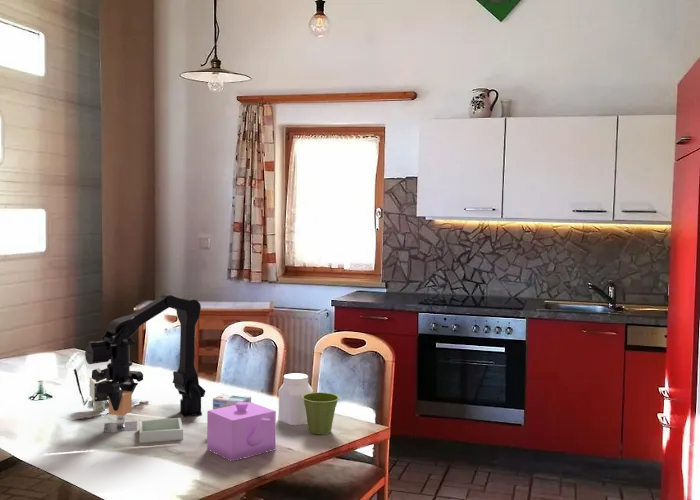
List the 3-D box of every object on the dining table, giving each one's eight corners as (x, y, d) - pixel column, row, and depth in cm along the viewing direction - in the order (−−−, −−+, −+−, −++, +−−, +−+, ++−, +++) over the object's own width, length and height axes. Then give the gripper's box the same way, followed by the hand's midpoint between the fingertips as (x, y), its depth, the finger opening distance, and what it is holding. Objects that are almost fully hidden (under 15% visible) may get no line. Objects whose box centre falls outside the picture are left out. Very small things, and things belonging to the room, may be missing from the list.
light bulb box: (251, 429, 229) (252, 396, 229) (241, 435, 223) (242, 401, 222) (222, 425, 233) (222, 392, 232) (211, 431, 226) (211, 397, 226)
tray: (180, 428, 228) (180, 417, 228) (182, 441, 216) (183, 429, 216) (139, 431, 225) (139, 420, 225) (139, 444, 213) (139, 432, 212)
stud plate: (136, 422, 234) (136, 406, 234) (137, 432, 224) (137, 414, 224) (104, 425, 231) (104, 408, 231) (103, 434, 221) (103, 417, 221)
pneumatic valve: (95, 416, 240) (95, 381, 239) (89, 407, 250) (88, 374, 250) (112, 414, 243) (112, 379, 242) (105, 406, 253) (105, 372, 252)
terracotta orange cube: (117, 410, 230) (117, 390, 230) (131, 411, 229) (131, 391, 229) (108, 414, 225) (108, 393, 225) (123, 415, 224) (123, 395, 224)
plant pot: (325, 439, 220) (325, 403, 219) (294, 433, 226) (294, 397, 225) (345, 430, 230) (346, 395, 229) (315, 423, 236) (315, 390, 236)
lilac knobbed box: (246, 469, 195) (247, 418, 194) (198, 445, 213) (198, 399, 212) (290, 456, 205) (291, 408, 204) (240, 435, 223) (241, 391, 222)
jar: (317, 421, 239) (318, 377, 238) (295, 426, 232) (295, 381, 232) (295, 413, 247) (296, 370, 247) (273, 419, 241) (274, 375, 240)
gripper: (113, 352, 237) (113, 398, 238) (80, 364, 219) (80, 414, 220) (144, 354, 235) (144, 401, 236) (112, 366, 216) (112, 417, 217)
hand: (120, 408), depth 227 cm, fingers closed on terracotta orange cube, 5 cm apart
